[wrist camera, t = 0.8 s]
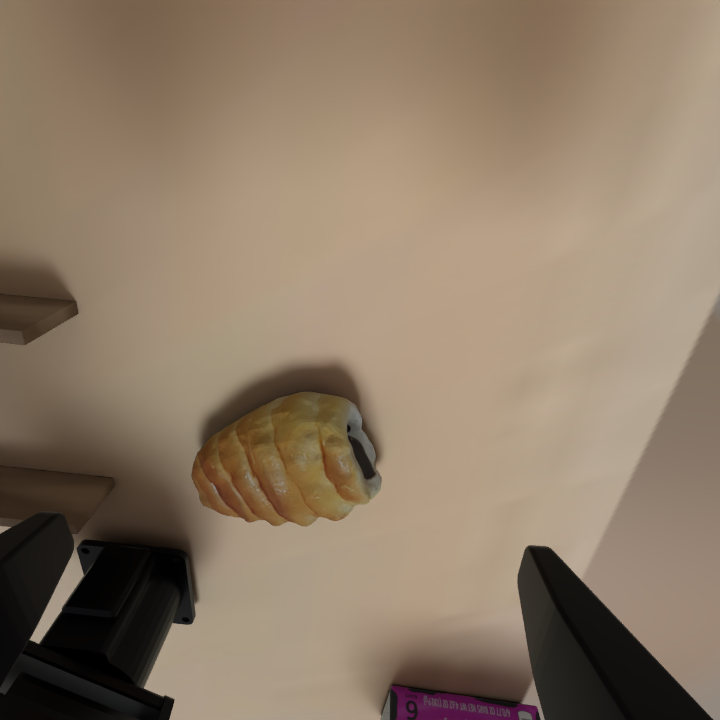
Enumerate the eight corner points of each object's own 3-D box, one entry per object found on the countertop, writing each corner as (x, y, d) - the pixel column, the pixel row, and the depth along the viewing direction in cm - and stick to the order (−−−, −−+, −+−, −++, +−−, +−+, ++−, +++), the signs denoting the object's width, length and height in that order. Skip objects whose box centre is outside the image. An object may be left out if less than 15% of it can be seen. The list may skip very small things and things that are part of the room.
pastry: (236, 512, 26) (214, 570, 23) (174, 421, 23) (139, 472, 20) (391, 472, 24) (392, 529, 21) (344, 368, 22) (338, 414, 18)
